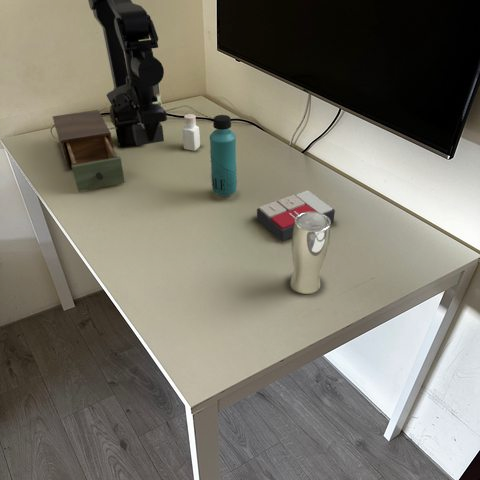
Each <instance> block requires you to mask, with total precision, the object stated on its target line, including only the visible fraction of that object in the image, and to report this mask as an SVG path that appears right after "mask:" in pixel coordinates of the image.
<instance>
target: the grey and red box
mask: <svg viewBox="0 0 480 480" xmlns="http://www.w3.org/2000/svg"><path fill="white" fill-rule="evenodd" d="M304 212H319V213H322V214H324V215H326V216H327V217H328V218H329V219H330V221H331V224H330V225H332V224H334V222H335V213H336V209H334V208H333V207H331V206H330V205H329V204H327V203H326V202H325V201H323V200H322V199H321V198H320V197H318V196H317V195H315V194H314V193H312V192H311V191H310V190H304V191H302V192H299V193H296V194H292V195H289V196H286V197H284V198H281V199H278V200H277V201H273V202H272V201H271V202H269V203H267V204H264V205H261V206H259V207H258V208H256V220H257V221H258V222H259V223H260V224H261V225H262V226H263V227H265V228H266V229H267V231H269V232H270V233H271V234H273V235H274V236H275V237H276V238H277V239H278V240H279V241H281V242H284V241H285V242H286V241H288V240H289V239H292V233H293V227H294V222H295V218H296V216H297V215H299V214H301V213H304Z"/></svg>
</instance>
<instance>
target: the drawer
mask: <svg viewBox="0 0 480 480" xmlns="http://www.w3.org/2000/svg"><path fill="white" fill-rule="evenodd" d="M66 146H67V150H68V153H69V157H70V161H71V164H72V165H71V166H72V169H71V170H72V173H73V177H74V181H75V183H76V184H75V185H76V189H77V191H78V192H83V191H89V190H93V189H99V188H104V187H109V186H114V185H115V186H116V185H119V184H125V183H126V180H125V176H124V169H123V165H122V159H121V157H120V156H117V155H116V152H115V150H113V149H114V147H113V148H112V146H111V144H110V142H109V141H108V139H107V137H106V136H101V137H95V138H89V139H83V140H77V141H70V142H66Z"/></svg>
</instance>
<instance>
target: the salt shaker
mask: <svg viewBox="0 0 480 480" xmlns="http://www.w3.org/2000/svg"><path fill="white" fill-rule="evenodd" d="M196 118H197V117H196V115H195V114H193V113H187V114H185V115H184V117H183V119H184V124H185V125H184V126H183V127H182V129H181V130H182V142H183V149H184V150H188V151H193V152H194V151H197V150H198V149H199V148H200V147H201V137H200V136H201V135H200V127H199V126H198V125H197V123H196V122H197V119H196Z"/></svg>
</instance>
